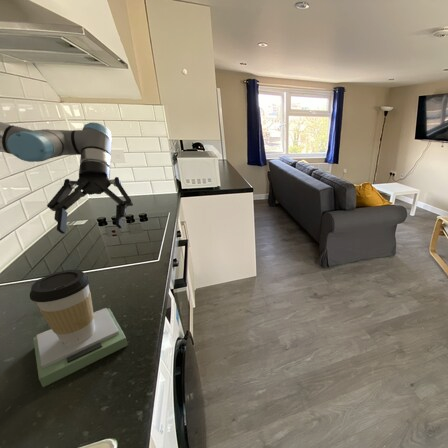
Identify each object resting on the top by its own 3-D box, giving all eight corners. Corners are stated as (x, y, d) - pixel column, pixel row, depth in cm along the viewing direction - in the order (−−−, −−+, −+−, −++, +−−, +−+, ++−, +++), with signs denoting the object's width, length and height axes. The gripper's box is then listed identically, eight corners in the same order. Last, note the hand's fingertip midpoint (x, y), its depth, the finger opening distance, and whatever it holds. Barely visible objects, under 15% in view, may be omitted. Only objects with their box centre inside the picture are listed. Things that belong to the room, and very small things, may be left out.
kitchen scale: (36, 345, 62) (31, 335, 61) (111, 315, 72) (108, 305, 71) (42, 387, 52) (37, 376, 51) (128, 345, 62) (125, 334, 61)
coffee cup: (100, 314, 67) (84, 263, 62) (108, 335, 61) (91, 280, 55) (49, 334, 61) (26, 279, 55) (52, 360, 54) (26, 300, 49)
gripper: (143, 172, 89) (144, 229, 81) (52, 175, 81) (43, 239, 73) (137, 158, 82) (137, 219, 75) (37, 160, 74) (25, 228, 66)
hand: (90, 229), depth 74 cm, fingers open, 13 cm apart
